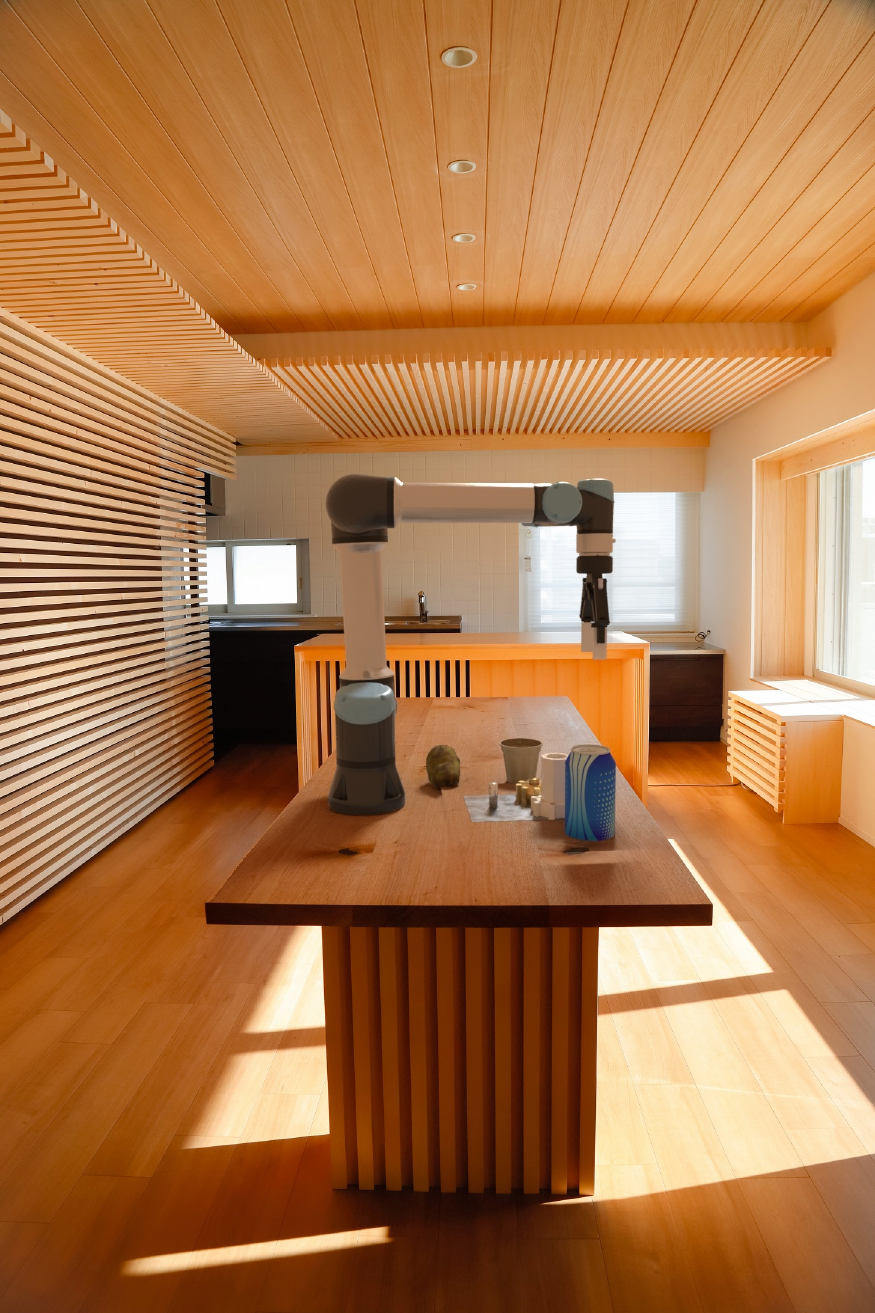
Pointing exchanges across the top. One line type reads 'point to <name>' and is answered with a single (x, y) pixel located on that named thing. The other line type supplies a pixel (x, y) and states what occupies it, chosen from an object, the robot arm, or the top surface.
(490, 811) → the plate
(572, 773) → the beer can
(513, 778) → the flower pot
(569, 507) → the robot arm
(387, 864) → the top surface
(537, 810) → the planet gear
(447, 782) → the potato
